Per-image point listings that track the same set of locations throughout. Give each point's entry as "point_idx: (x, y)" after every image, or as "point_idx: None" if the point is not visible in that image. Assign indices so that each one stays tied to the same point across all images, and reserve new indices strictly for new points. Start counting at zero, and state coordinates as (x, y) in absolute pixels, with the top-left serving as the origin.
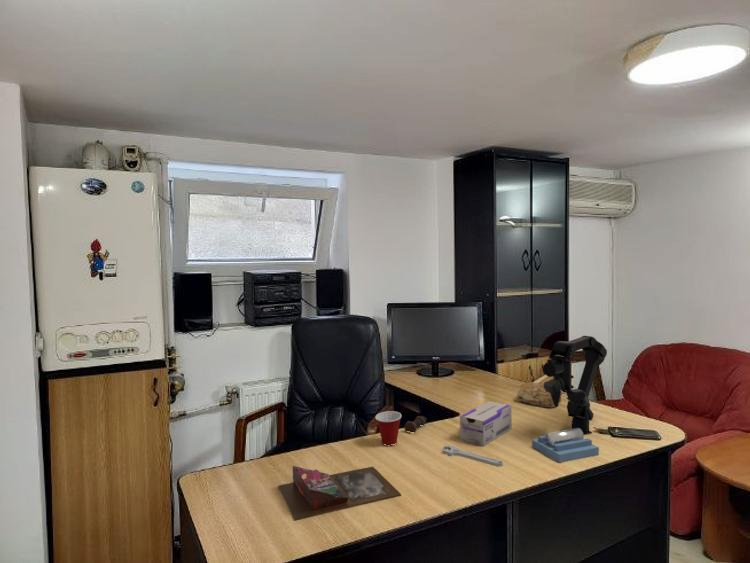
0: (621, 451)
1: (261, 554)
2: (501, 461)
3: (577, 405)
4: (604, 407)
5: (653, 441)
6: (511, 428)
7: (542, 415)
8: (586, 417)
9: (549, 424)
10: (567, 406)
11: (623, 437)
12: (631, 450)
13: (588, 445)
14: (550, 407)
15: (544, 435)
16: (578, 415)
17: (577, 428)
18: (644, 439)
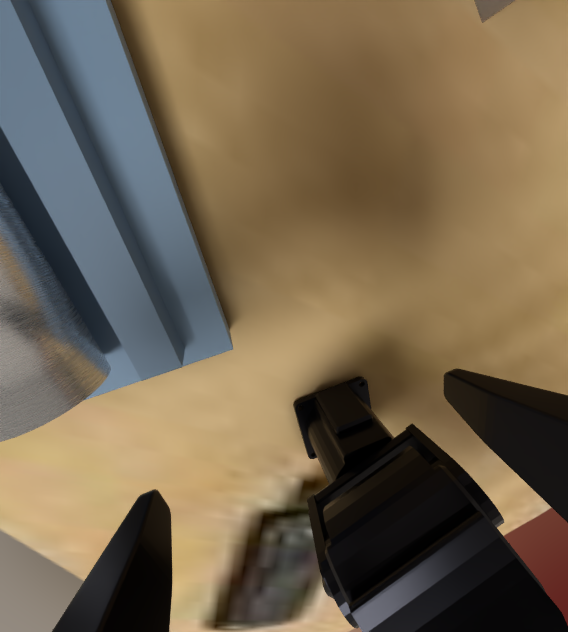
0: (62, 518)
1: None
2: None
3: (387, 583)
4: (506, 529)
5: (193, 614)
6: (487, 16)
7: (553, 320)
8: (312, 520)
9: (457, 310)
10: (451, 481)
11: (244, 544)
12: (82, 552)
13: None
14: None
15: (17, 24)
16: (351, 487)
17: (2, 421)
18: (216, 595)
